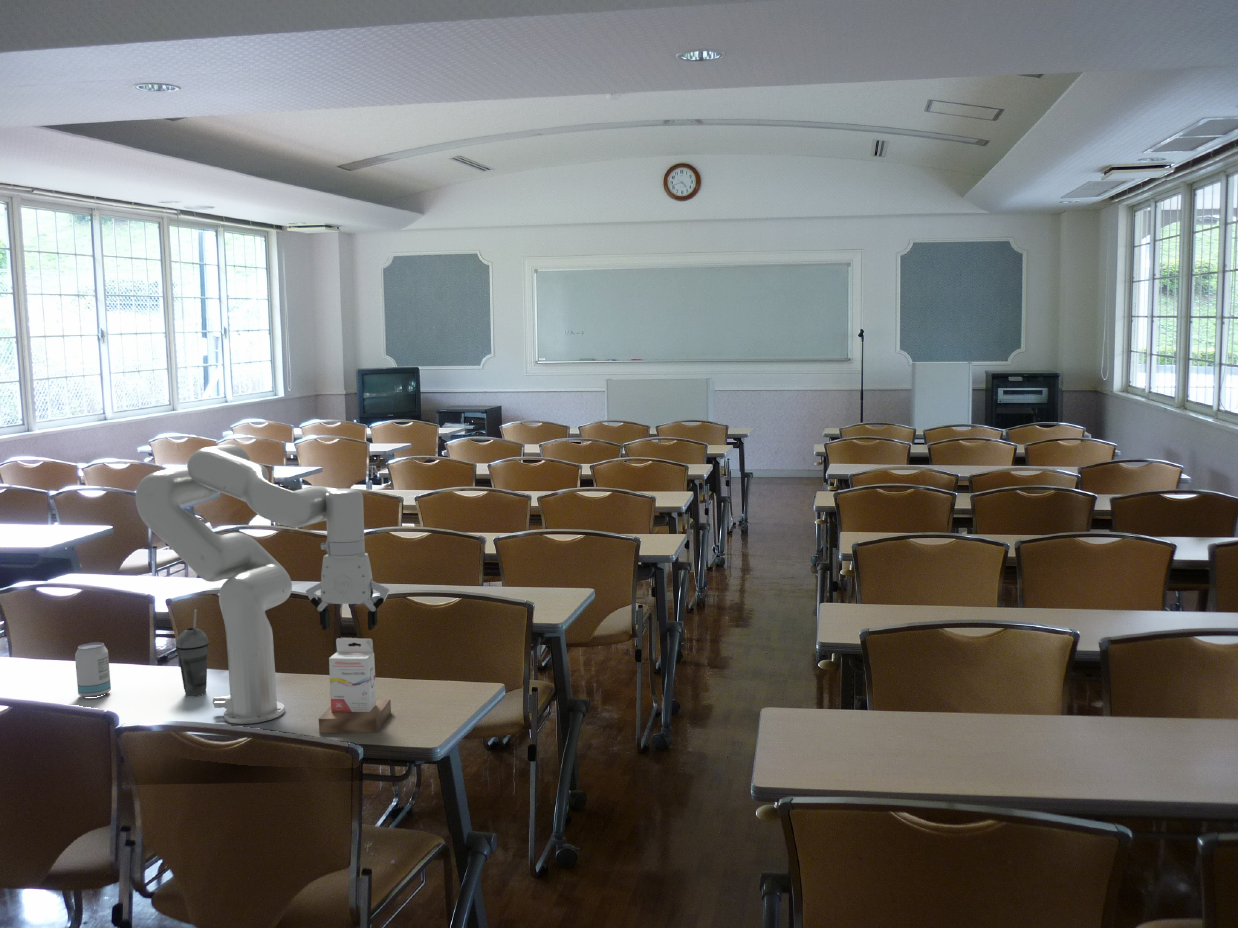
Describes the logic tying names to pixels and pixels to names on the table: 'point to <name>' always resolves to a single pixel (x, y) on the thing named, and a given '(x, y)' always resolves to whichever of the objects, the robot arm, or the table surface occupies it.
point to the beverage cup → (193, 659)
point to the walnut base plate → (355, 719)
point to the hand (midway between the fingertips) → (348, 628)
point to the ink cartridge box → (352, 676)
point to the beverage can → (92, 670)
